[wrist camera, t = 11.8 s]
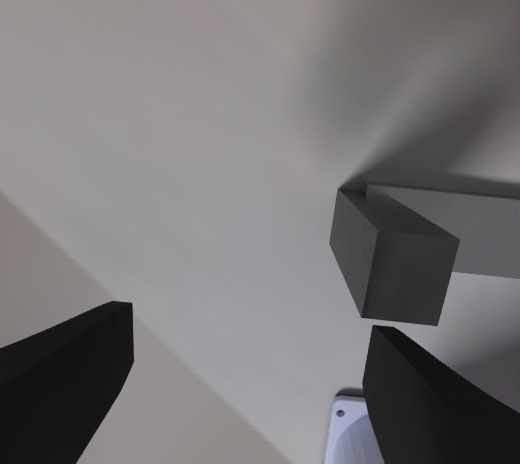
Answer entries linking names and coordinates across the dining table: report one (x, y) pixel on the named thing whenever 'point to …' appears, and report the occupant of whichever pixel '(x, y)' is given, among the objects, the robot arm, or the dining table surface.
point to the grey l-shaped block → (419, 246)
